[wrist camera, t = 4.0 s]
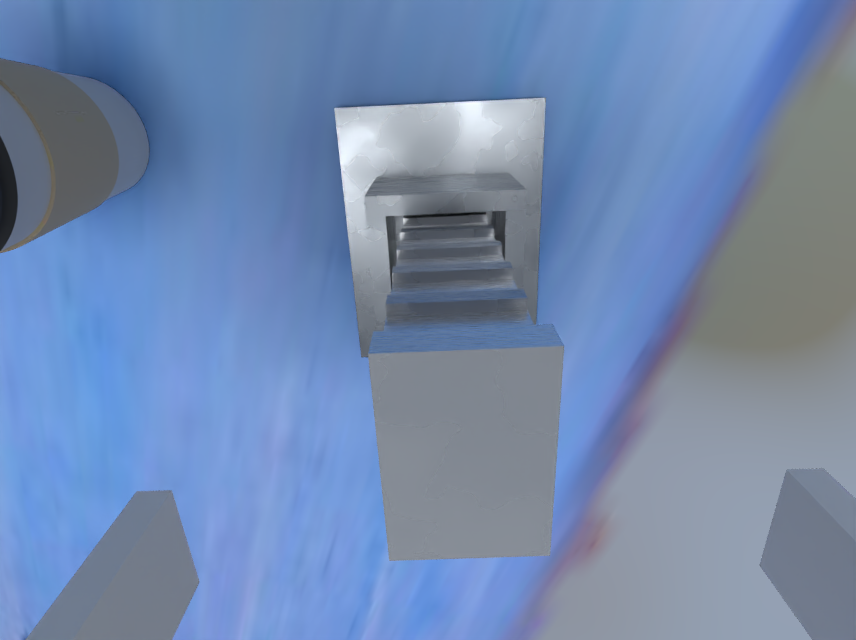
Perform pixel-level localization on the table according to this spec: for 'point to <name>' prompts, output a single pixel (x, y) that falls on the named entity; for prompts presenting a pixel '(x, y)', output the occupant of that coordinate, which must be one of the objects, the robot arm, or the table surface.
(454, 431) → the column
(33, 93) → the coffee cup
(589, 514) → the table surface
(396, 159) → the stand
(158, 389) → the table surface
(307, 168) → the table surface
